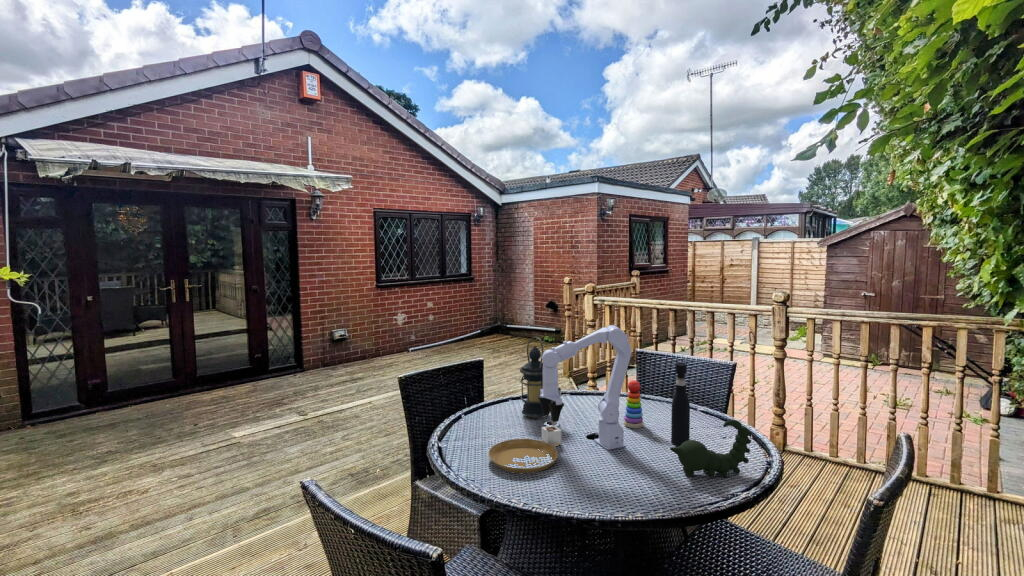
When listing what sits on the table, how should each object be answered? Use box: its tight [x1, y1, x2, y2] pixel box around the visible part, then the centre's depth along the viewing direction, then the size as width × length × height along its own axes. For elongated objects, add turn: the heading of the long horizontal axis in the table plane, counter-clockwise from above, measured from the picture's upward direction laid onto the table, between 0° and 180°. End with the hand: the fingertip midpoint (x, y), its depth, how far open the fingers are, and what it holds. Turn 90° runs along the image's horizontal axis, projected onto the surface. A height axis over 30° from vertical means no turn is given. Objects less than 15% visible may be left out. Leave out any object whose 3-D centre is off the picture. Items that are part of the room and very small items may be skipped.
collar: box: [541, 425, 562, 445], centre depth 178 cm, size 6×6×5 cm
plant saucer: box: [487, 438, 559, 474], centre depth 164 cm, size 24×24×3 cm
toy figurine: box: [669, 419, 752, 479], centre depth 151 cm, size 9×19×25 cm
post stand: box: [549, 429, 561, 448], centre depth 178 cm, size 7×7×6 cm
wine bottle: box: [670, 362, 691, 447], centre depth 175 cm, size 6×6×30 cm
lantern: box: [519, 336, 547, 419], centre depth 207 cm, size 14×13×35 cm
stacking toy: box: [623, 380, 645, 429], centre depth 194 cm, size 8×8×19 cm
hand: (550, 418), depth 177 cm, fingers open, 7 cm apart
